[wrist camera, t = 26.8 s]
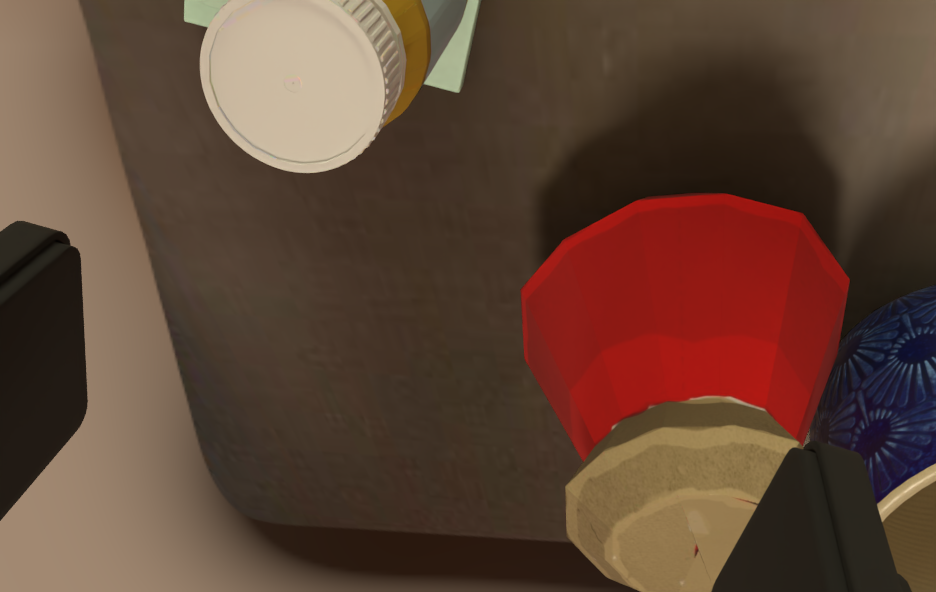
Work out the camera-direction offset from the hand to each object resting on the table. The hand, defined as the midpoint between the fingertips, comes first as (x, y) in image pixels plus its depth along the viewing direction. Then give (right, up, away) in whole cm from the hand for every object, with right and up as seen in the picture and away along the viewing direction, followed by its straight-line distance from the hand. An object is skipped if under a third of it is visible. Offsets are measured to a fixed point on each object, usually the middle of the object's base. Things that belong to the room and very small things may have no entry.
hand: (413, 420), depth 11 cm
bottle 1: (-3, +16, +29) cm, 33 cm away
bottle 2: (+12, +4, +36) cm, 38 cm away
